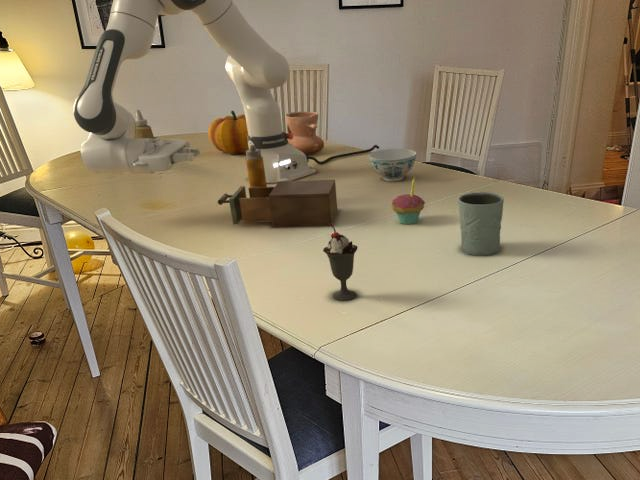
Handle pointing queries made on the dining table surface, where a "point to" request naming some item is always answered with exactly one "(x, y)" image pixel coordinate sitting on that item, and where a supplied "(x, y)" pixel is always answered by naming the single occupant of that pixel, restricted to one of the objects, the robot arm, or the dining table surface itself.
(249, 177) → the pepper mill
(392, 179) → the chinaware
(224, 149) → the decorative pumpkin
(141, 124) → the squeeze bottle
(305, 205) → the cabinet
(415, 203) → the cupcake
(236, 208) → the drawer
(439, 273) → the dining table surface
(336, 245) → the sundae
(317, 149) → the ceramic jug
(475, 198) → the green embossed cup
